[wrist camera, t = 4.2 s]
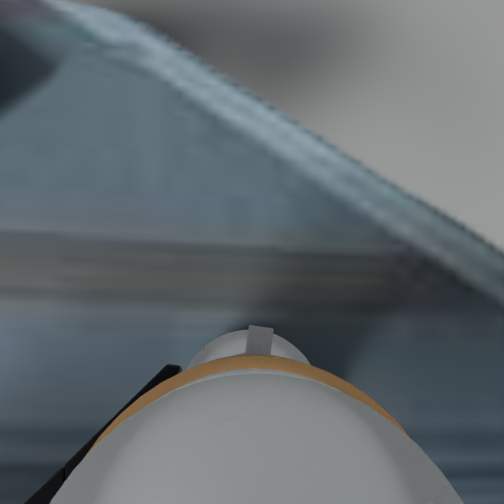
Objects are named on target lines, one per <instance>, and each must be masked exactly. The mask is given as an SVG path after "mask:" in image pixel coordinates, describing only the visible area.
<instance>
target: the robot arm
mask: <svg viewBox="0 0 504 504" xmlns="http://www.w3.org/2000/svg"><path fill="white" fill-rule="evenodd" d="M181 372H182V369H181V366H178V365H171V364H168V365H166V366H165V367H164V368H163V369H162V370H161V371H160V372H159V373H158V374H157V375H156V376H155V377H154V378H153V379H152V380H151V381H150V382H149V383H148V384H147V385H146V386H145V387H144V388H143V389H142V390H141V391H139V392H138V393H137V394H136V395H135V396H134V397H133V398H132V399H131V400H130V401H129V402H128V403H127V404H126V405H125V406H124V407H123V408H122V409H121V410H120V411H119V412H118V413H117V414H116V415H115V416H114V417H113V418H112V419H111V420H110V421H109V422H108V423H107V424H106V425H105V426H104V427H103V428H102V429H101V430H100V431H99V432H98V433H97V434H96V435H95V436H94V437H93V438H92V439H91V440H90V441H88V442H87V443H86V444H85V445H84V446H83V447H82V448H81V449H80V450H79V451H78V452H77V453H76V454H75V455H74V456H73V457H72V458H71V459H70V460H69V461H68V462H67V463H66V464H65V468H64V467H62V468H61V469H60V470H59V471H58V472H57V473H56V474H55V475H54V476H53V477H52V478H51V479H50V480H49V481H48V482H47V483H45V484H44V485H43V486H42V487H41V488H40V489H39V490H38V491H37V492H36V493H35V494H34V495H33V496H32V497H31V498H30V499H28V500H27V501H26V502H25V503H24V504H50V502H51V500H52V499H53V497H54V496H55V495H56V493H57V492H58V491H59V489H60V488H61V486H62V485H63V484H64V482H65V481H66V480H67V478H68V477H69V475H70V474H71V473H72V471H73V470H74V469H75V468H76V467H77V466H78V464H79V463H80V462H81V461H82V460H83V459H84V457H85V456H86V455H87V453H88V452H89V450H90V449H91V448H92V446H93V445H94V444H95V442H96V441H97V439H98V438H99V437H100V435H101V434H102V433H103V432H104V431H105V430H106V429H107V428H108V427H109V426H110V425H111V423H112V422H113V421H114V420H115V419H116V418H117V417H118V416H119V415H120V414H121V413H122V412H123V411H124V410H126V409H127V408H128V407H129V406H130V405H131V404H133V403H134V402H135V401H136V400H137V399H138V398H139V397H141V396H142V395H144V394H145V393H147V392H148V391H150V390H151V389H153V388H154V387H156V386H157V385H159V384H160V383H162V382H163V381H165V380H167V379H169V378H171V377H173V376H175V375H177V374H179V373H181Z"/></svg>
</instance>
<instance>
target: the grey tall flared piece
mask: <svg viewBox="0 0 504 504" xmlns="http://www.w3.org/2000/svg"><path fill="white" fill-rule="evenodd" d="M273 329H274V328H267V327H260V326H254V325H249V329H248V330H239V331H234V332H230V333H227V334H224V335H222V336H220V337H218V338H216V339H214V340H212V341H211V342H209V343H208V344H207V345H205V346H204V347H203V348H202V349H201V350H200V351H199V352H198V353H197V354H196V355H195V356H194V357H193V359H192V360H191V361H190V363H189V364H188V366H187V367H186V369H185V371H183V372H181V373H179V374H177V375H175V376H173V377H171V378H169V379H167V380H165V381H163V382H162V383H160V384H159V385H157V386H156V387H154V388H153V389H151V390H150V391H148V392H147V393H145V394H144V395H142V396H141V397H139V398H138V399H137V400H136V401H135V402H134V403H133V404H131V405H130V406H129V407H128V408H127V409H126V410H124V411H123V412H122V413H121V414H120V415H119V416H118V417H117V418H116V419H115V420H114V421H113V422H112V423H111V425H110V426H109V427H108V428H107V429H106V430H105V431H104V432H103V433H102V434H101V435H100V437H99V438H98V439H97V441H96V442H95V444H94V445H93V446H92V448H91V449H90V450H89V452H88V453H87V455H86V456H85V457H84V459H83V460H82V461H81V462H80V463H79V464H78V466H77V467H76V468H75V469H74V470H73V471H72V473H71V474H70V475H69V477H68V478H67V480H66V481H65V482H64V484H63V485H62V486H61V488H60V489H59V491H58V492H57V493H56V495H55V496H54V497H53V499H52V500H51V502H50V504H464V503H463V501H462V500H461V499H460V497H459V496H458V494H457V493H456V491H455V490H454V489H453V487H452V486H451V484H450V483H449V482H448V480H447V479H446V477H445V476H444V475H443V473H442V472H441V471H440V469H439V468H438V467H437V466H436V465H435V464H434V463H433V462H432V460H431V459H430V458H429V457H428V456H427V455H426V454H425V453H424V451H423V450H422V449H421V448H420V447H419V446H418V445H417V444H416V443H415V442H414V441H413V440H412V438H411V437H410V436H409V435H408V434H407V433H406V432H405V430H404V429H403V428H402V427H401V426H400V425H399V424H398V423H397V421H396V420H395V419H394V418H393V417H392V416H391V415H390V414H389V413H388V412H387V411H385V410H384V409H383V408H382V407H381V406H380V405H379V404H378V403H376V402H375V401H374V400H373V399H372V398H371V397H369V396H368V395H366V394H365V393H363V392H362V391H361V390H359V389H358V388H356V387H355V386H353V385H352V384H350V383H349V382H347V381H345V380H343V379H341V378H339V377H337V376H335V375H333V374H331V373H329V372H327V371H325V370H322V369H319V368H316V367H314V366H311V365H310V363H309V362H308V360H307V359H306V357H305V356H304V355H303V354H302V353H301V352H300V351H299V350H298V349H297V348H296V347H295V346H294V345H292V344H291V343H290V342H288V341H287V340H285V339H283V338H281V337H279V336H277V335H275V334H273Z"/></svg>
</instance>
